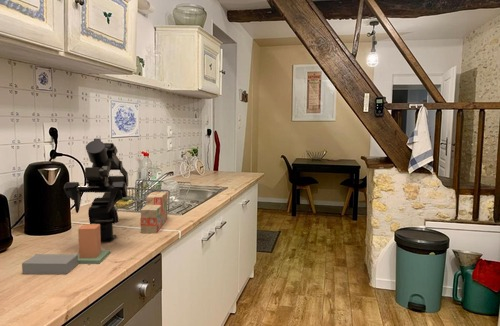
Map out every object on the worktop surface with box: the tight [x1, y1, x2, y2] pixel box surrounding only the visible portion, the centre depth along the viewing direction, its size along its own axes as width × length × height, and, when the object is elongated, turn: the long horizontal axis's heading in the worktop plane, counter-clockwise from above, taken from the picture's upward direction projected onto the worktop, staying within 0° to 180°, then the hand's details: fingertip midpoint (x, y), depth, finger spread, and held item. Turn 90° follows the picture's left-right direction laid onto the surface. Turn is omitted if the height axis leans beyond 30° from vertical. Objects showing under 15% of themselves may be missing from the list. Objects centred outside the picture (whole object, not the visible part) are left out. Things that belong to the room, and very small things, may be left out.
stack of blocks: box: [140, 191, 169, 234], centre depth 146 cm, size 21×6×12 cm, turn 2°
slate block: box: [21, 253, 79, 275], centre depth 102 cm, size 7×12×3 cm, turn 91°
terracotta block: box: [77, 223, 102, 258], centre depth 110 cm, size 5×5×9 cm
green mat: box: [76, 249, 112, 265], centre depth 111 cm, size 9×9×1 cm
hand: (92, 212), depth 113 cm, fingers open, 9 cm apart
